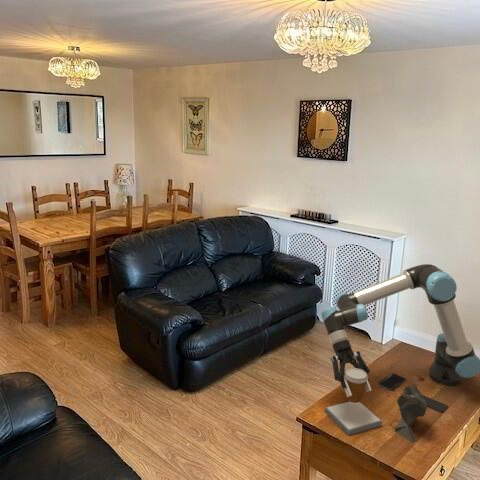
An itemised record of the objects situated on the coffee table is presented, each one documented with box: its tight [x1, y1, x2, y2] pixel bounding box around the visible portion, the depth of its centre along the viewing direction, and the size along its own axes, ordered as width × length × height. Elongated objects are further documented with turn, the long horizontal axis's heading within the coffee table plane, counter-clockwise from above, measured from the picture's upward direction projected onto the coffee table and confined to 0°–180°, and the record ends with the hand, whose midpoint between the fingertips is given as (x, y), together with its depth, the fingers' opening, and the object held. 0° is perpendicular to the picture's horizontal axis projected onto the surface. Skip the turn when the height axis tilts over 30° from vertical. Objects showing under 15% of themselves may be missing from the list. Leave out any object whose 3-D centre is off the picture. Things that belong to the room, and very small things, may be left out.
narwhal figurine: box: [394, 384, 428, 443], centre depth 196 cm, size 14×15×18 cm
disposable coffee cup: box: [344, 367, 369, 403], centre depth 198 cm, size 10×10×12 cm
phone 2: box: [377, 373, 407, 392], centre depth 231 cm, size 8×1×15 cm
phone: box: [422, 394, 449, 414], centre depth 215 cm, size 7×1×15 cm
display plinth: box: [324, 401, 383, 436], centre depth 202 cm, size 17×17×2 cm
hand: (359, 393), depth 196 cm, fingers closed on disposable coffee cup, 9 cm apart
